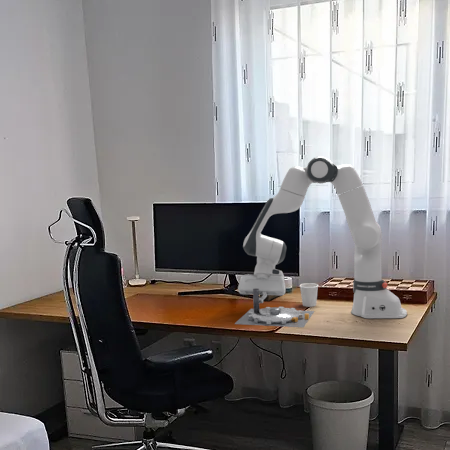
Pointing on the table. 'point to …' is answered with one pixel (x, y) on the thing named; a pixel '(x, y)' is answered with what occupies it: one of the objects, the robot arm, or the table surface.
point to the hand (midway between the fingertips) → (259, 302)
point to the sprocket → (272, 313)
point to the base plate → (299, 323)
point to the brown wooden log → (270, 297)
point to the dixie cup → (309, 294)
